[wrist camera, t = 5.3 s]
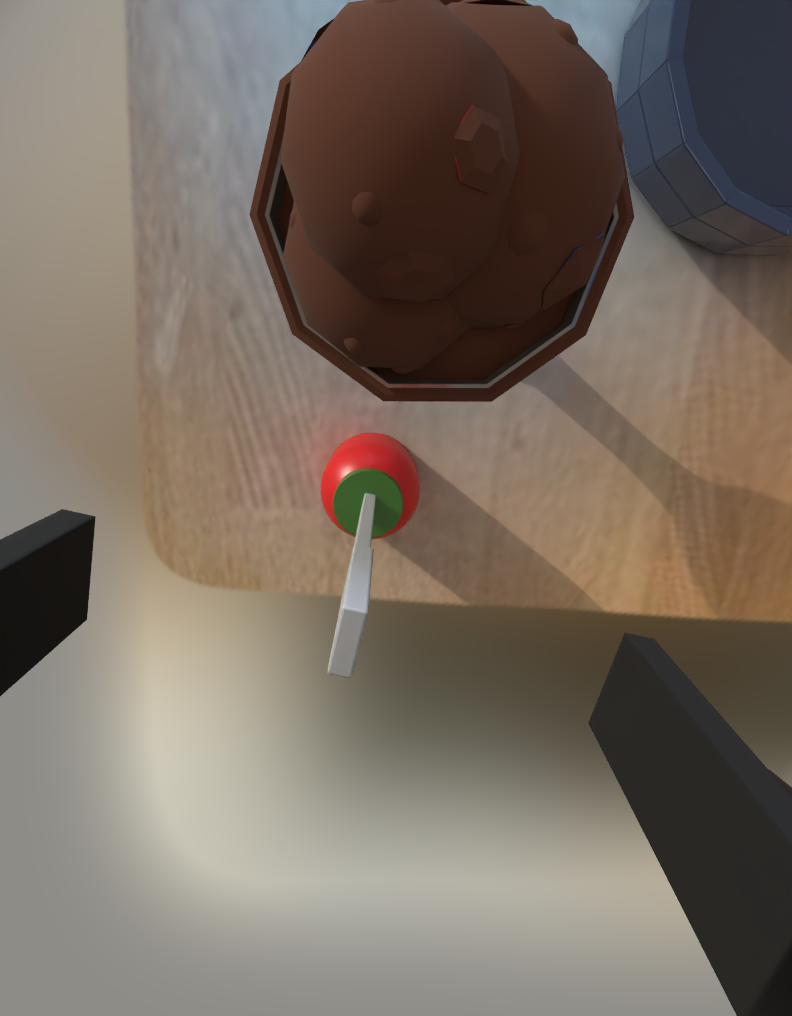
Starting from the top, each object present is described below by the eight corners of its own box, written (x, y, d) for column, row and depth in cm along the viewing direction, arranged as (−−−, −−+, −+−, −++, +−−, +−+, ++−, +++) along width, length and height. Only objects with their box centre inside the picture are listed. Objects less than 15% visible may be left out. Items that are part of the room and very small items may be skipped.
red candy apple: (319, 509, 28) (231, 708, 13) (336, 423, 27) (263, 529, 12) (405, 529, 28) (420, 744, 13) (426, 444, 27) (471, 575, 12)
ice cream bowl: (354, 415, 27) (309, 498, 12) (270, 169, 24) (81, -99, 9) (564, 346, 26) (779, 351, 12) (506, 82, 23) (700, -363, 8)
